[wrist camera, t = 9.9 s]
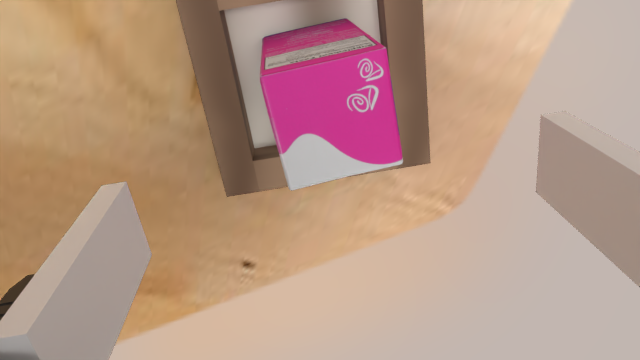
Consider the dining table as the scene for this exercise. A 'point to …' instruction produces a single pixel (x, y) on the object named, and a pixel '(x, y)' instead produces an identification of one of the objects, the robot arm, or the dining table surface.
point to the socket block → (244, 75)
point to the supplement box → (329, 102)
